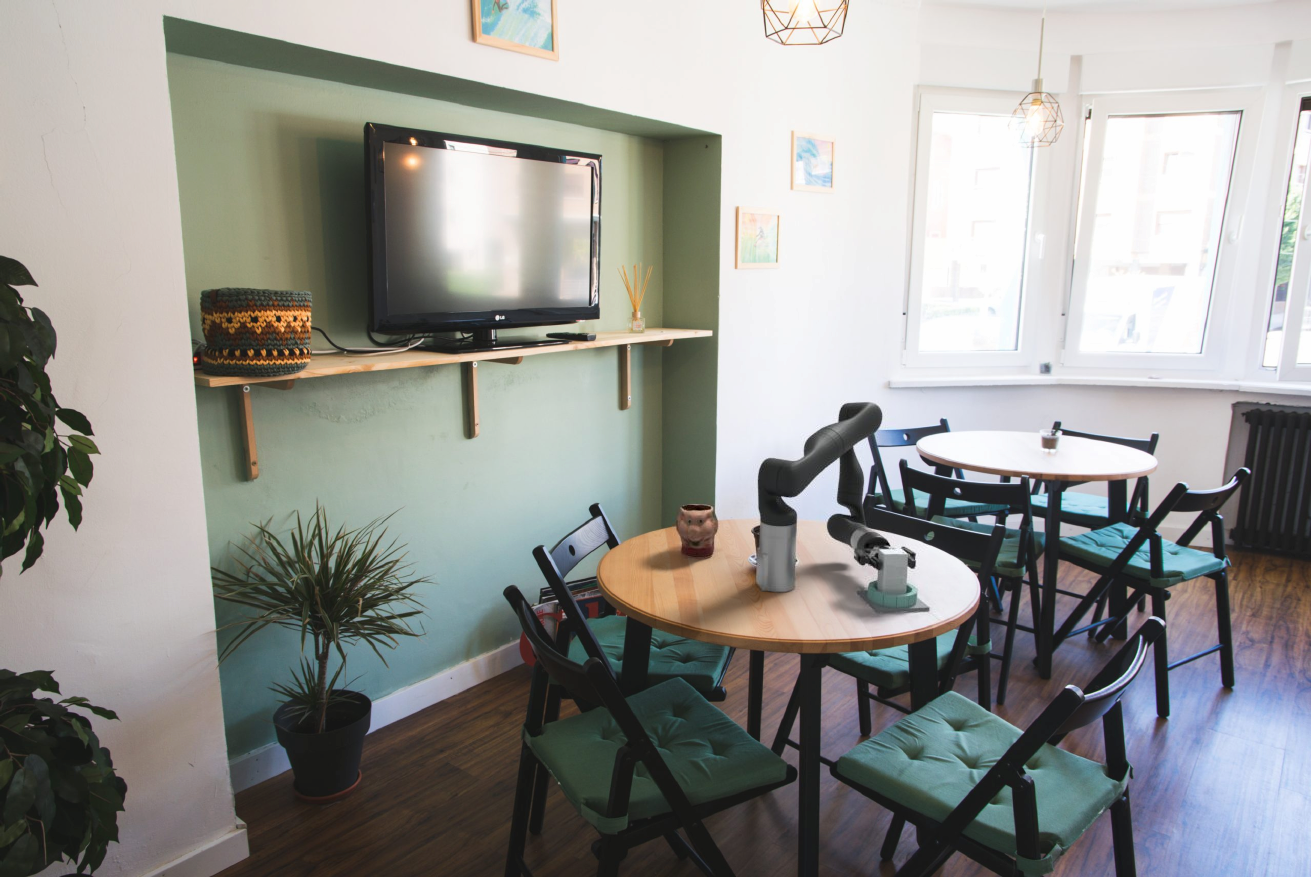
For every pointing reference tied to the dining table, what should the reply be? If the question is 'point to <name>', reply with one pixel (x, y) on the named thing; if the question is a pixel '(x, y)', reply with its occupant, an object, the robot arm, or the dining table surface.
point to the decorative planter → (697, 530)
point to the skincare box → (892, 571)
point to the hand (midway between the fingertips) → (896, 565)
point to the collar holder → (892, 600)
